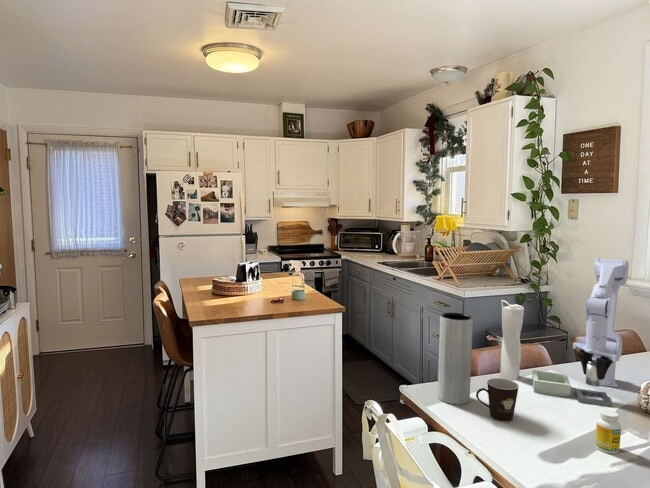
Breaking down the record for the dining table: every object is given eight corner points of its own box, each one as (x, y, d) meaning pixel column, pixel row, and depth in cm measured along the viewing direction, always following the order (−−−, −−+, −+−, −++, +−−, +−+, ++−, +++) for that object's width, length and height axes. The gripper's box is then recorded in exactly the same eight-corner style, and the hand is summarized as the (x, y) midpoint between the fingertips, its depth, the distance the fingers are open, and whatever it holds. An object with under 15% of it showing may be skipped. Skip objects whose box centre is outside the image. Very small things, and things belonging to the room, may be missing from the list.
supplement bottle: (601, 441, 122) (603, 406, 121) (623, 450, 118) (626, 414, 117) (591, 447, 119) (593, 411, 118) (613, 456, 115) (615, 419, 114)
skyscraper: (495, 377, 167) (498, 301, 165) (499, 371, 174) (503, 297, 171) (518, 381, 163) (522, 304, 161) (522, 375, 170) (526, 300, 167)
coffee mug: (516, 412, 139) (517, 380, 138) (518, 425, 131) (519, 391, 130) (475, 406, 142) (476, 375, 142) (475, 418, 134) (476, 385, 134)
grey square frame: (574, 391, 155) (574, 388, 155) (605, 395, 152) (605, 392, 152) (578, 402, 147) (579, 398, 147) (611, 406, 144) (611, 403, 143)
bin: (532, 380, 164) (532, 370, 164) (565, 385, 160) (566, 374, 160) (533, 392, 154) (534, 380, 154) (570, 397, 150) (570, 385, 150)
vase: (471, 395, 151) (474, 314, 149) (467, 407, 142) (470, 321, 140) (440, 390, 155) (443, 311, 153) (434, 401, 146) (437, 317, 144)
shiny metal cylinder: (582, 382, 150) (583, 360, 149) (591, 380, 152) (593, 358, 151) (594, 387, 146) (596, 364, 145) (604, 385, 148) (605, 362, 147)
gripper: (567, 330, 153) (565, 370, 154) (609, 342, 139) (607, 386, 141) (582, 328, 155) (579, 367, 157) (625, 340, 142) (622, 383, 143)
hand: (593, 376), depth 149 cm, fingers closed on shiny metal cylinder, 4 cm apart
